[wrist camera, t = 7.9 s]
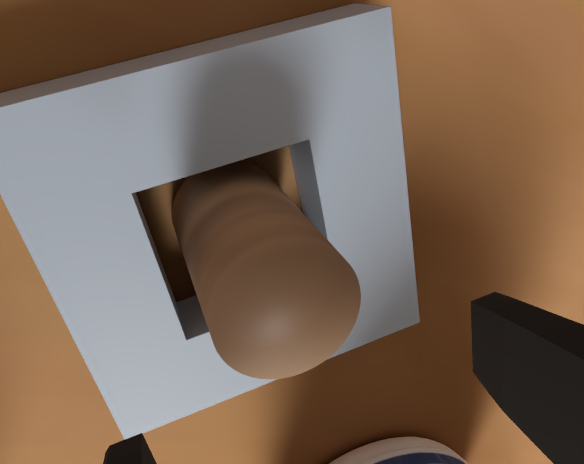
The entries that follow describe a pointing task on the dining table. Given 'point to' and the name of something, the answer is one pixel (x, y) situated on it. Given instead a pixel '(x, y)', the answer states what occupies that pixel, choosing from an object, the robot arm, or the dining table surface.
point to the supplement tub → (401, 453)
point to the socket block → (195, 159)
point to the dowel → (262, 273)
